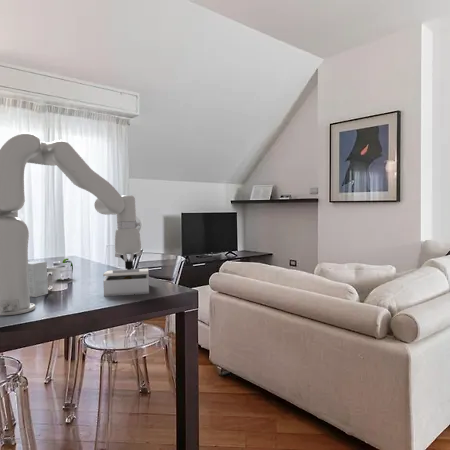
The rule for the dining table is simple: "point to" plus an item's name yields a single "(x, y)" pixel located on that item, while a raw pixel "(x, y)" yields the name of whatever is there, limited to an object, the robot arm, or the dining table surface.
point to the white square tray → (126, 285)
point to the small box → (37, 278)
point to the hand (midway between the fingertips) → (129, 270)
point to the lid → (126, 272)
